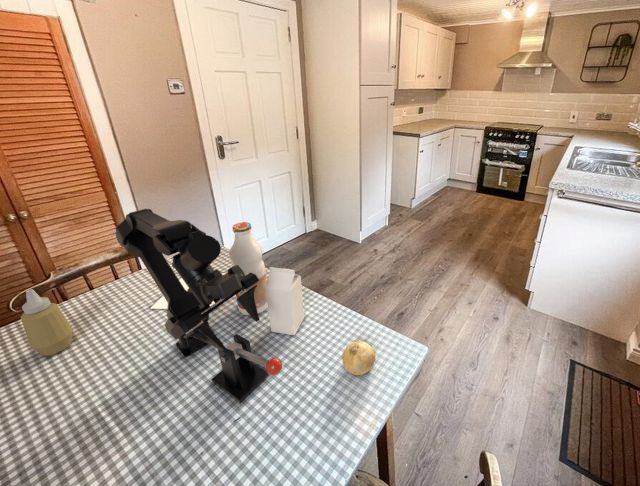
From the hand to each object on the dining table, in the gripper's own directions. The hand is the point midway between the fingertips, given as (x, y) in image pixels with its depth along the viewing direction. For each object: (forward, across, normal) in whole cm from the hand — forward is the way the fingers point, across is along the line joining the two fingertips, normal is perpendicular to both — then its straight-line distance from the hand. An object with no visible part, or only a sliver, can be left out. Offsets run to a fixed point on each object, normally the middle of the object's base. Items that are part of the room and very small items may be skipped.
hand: (242, 334), depth 65 cm
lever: (+7, -1, +1) cm, 7 cm away
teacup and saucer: (-16, +18, +42) cm, 49 cm away
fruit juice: (-1, +20, +25) cm, 32 cm away
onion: (+24, +15, -6) cm, 29 cm away
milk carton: (+8, +18, +13) cm, 24 cm away
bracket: (+9, -1, +11) cm, 15 cm away
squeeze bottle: (-24, -16, +50) cm, 58 cm away
